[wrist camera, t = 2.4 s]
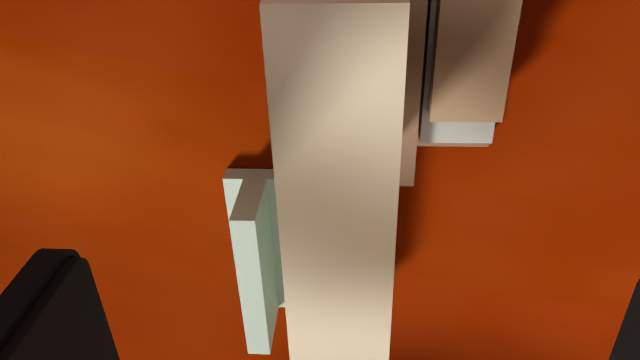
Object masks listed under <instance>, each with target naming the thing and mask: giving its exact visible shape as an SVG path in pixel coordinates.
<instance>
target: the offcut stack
mask: <svg viewBox="0 0 640 360" xmlns="http://www.w3.org/2000/svg"><path fill="white" fill-rule="evenodd" d="M522 1H523V0H428V7H427V20H426V34H425V47H424V60H423V73H422V86H421V99H420V112H419V125H418V134H419V140H420V143H492V140H493V133H494V127H495V122H502V120H503V114H504V109H505V103H506V97H507V91H508V85H509V79H510V73H511V67H512V61H513V55H514V49H515V43H516V37H517V31H518V25H519V19H520V13H521V7H522Z"/></svg>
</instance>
